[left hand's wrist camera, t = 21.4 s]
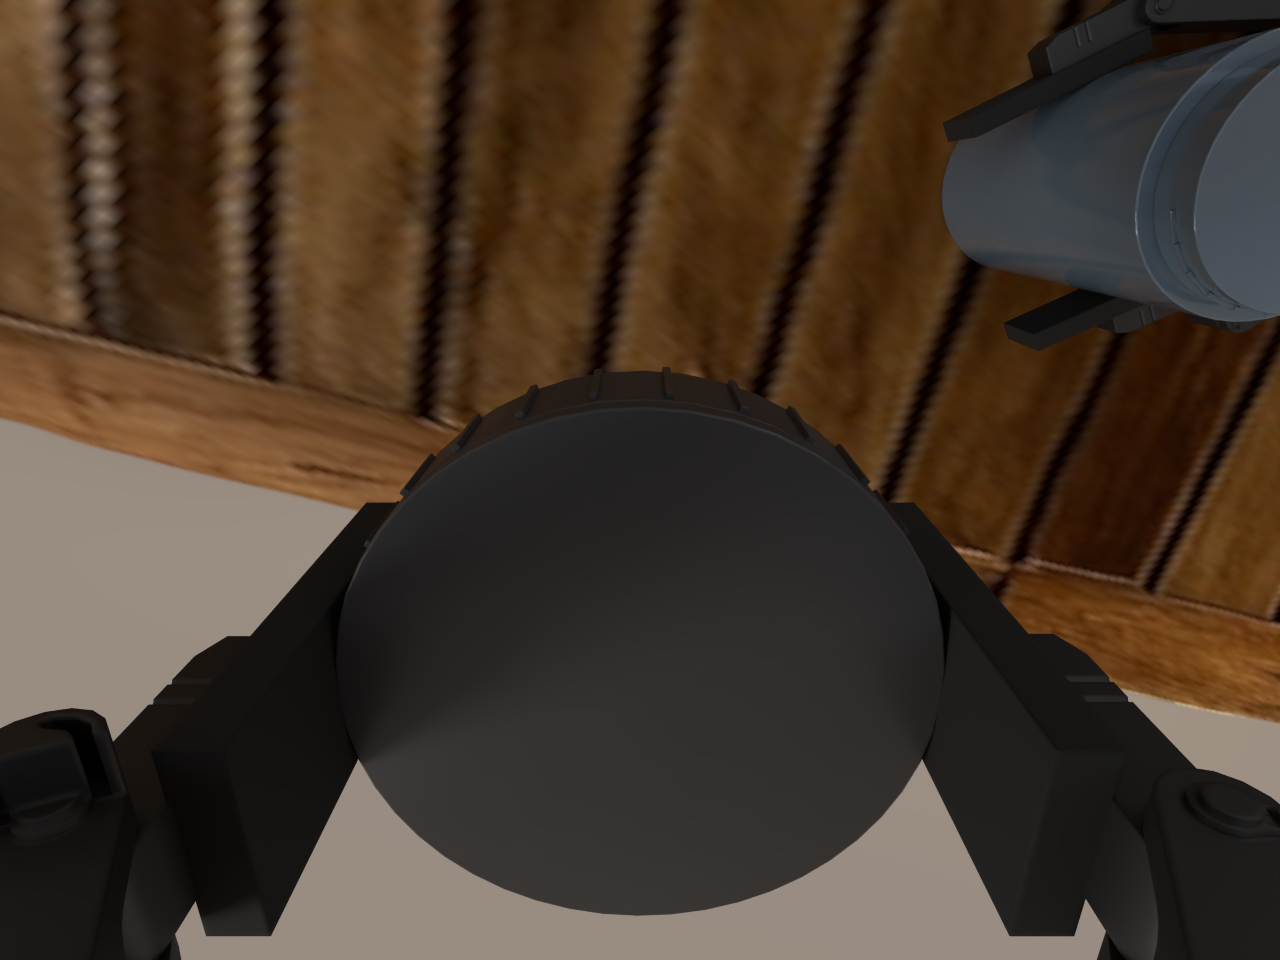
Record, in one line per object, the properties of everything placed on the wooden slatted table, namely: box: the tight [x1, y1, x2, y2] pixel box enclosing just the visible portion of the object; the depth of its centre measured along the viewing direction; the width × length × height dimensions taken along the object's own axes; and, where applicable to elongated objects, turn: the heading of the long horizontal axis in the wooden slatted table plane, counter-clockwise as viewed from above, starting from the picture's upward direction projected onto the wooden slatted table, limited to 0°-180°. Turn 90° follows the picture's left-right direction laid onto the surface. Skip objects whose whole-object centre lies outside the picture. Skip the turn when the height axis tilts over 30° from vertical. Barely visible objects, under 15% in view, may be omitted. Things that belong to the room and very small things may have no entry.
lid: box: [335, 367, 945, 916], centre depth 12 cm, size 9×9×2 cm
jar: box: [942, 27, 1280, 322], centre depth 28 cm, size 8×8×17 cm
